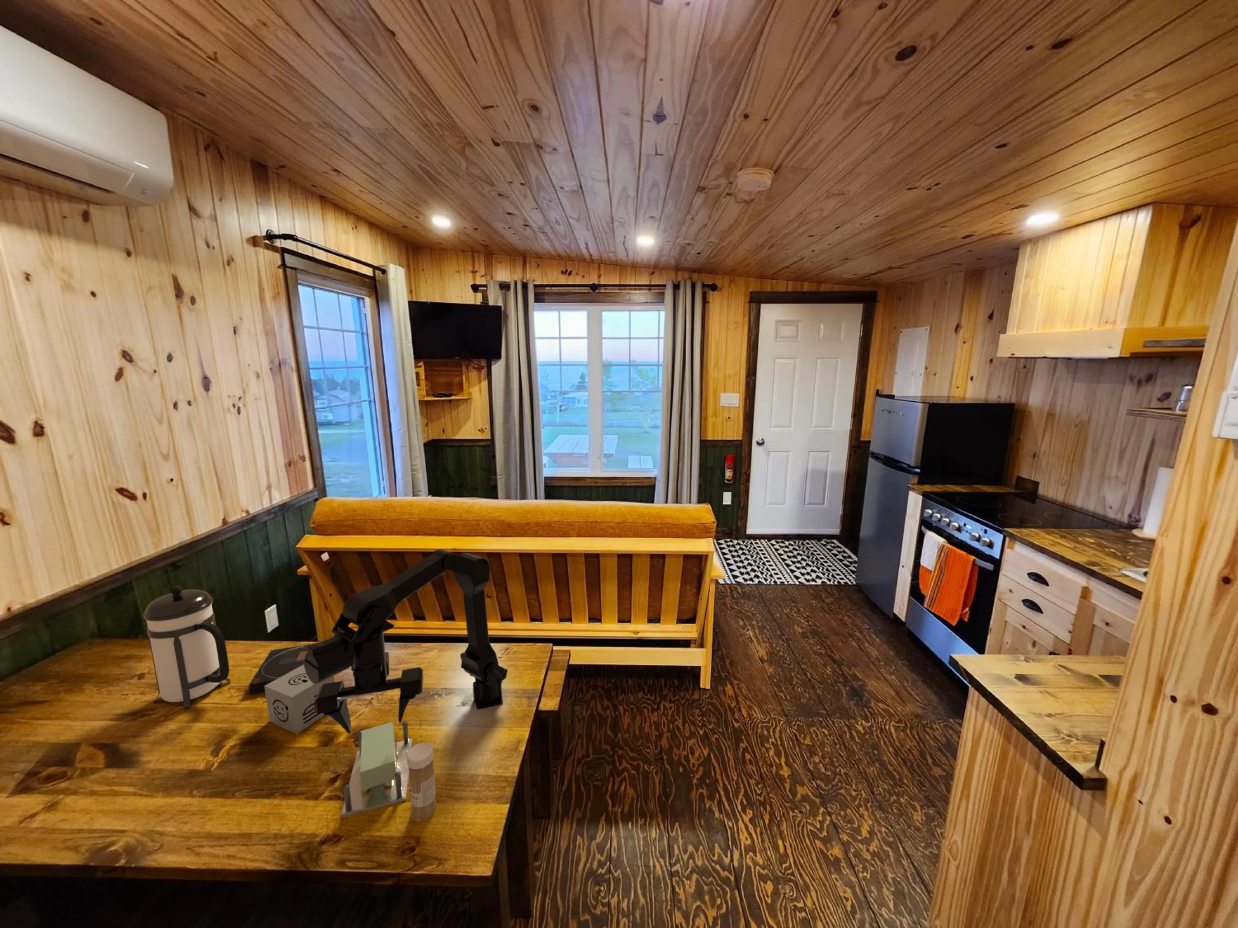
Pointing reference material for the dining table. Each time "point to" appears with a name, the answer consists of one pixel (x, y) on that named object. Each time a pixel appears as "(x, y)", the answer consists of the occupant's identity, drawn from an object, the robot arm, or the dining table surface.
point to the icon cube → (293, 700)
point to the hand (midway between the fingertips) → (375, 726)
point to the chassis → (383, 792)
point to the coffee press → (186, 645)
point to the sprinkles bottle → (421, 781)
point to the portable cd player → (277, 666)
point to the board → (377, 756)
